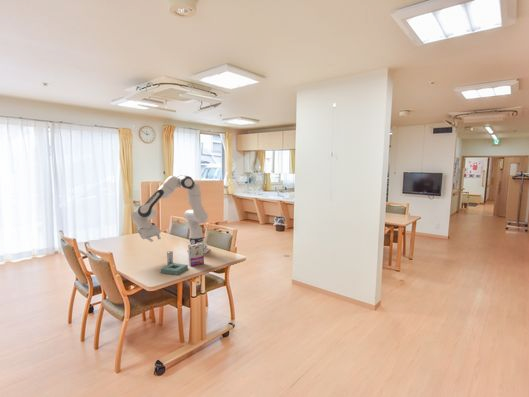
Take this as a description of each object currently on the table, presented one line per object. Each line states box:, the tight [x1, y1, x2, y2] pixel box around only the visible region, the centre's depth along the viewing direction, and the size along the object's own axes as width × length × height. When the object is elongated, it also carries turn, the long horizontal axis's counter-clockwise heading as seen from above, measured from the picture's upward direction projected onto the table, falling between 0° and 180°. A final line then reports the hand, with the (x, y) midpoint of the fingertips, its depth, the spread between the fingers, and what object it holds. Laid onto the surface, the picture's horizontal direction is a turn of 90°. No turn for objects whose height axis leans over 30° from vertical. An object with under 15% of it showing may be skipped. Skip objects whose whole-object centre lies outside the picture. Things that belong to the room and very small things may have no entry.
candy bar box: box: [187, 243, 205, 267], centre depth 237 cm, size 11×5×16 cm, turn 126°
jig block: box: [160, 262, 189, 276], centre depth 223 cm, size 14×14×3 cm
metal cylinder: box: [166, 250, 174, 266], centre depth 237 cm, size 4×4×10 cm
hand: (156, 240), depth 239 cm, fingers open, 8 cm apart
